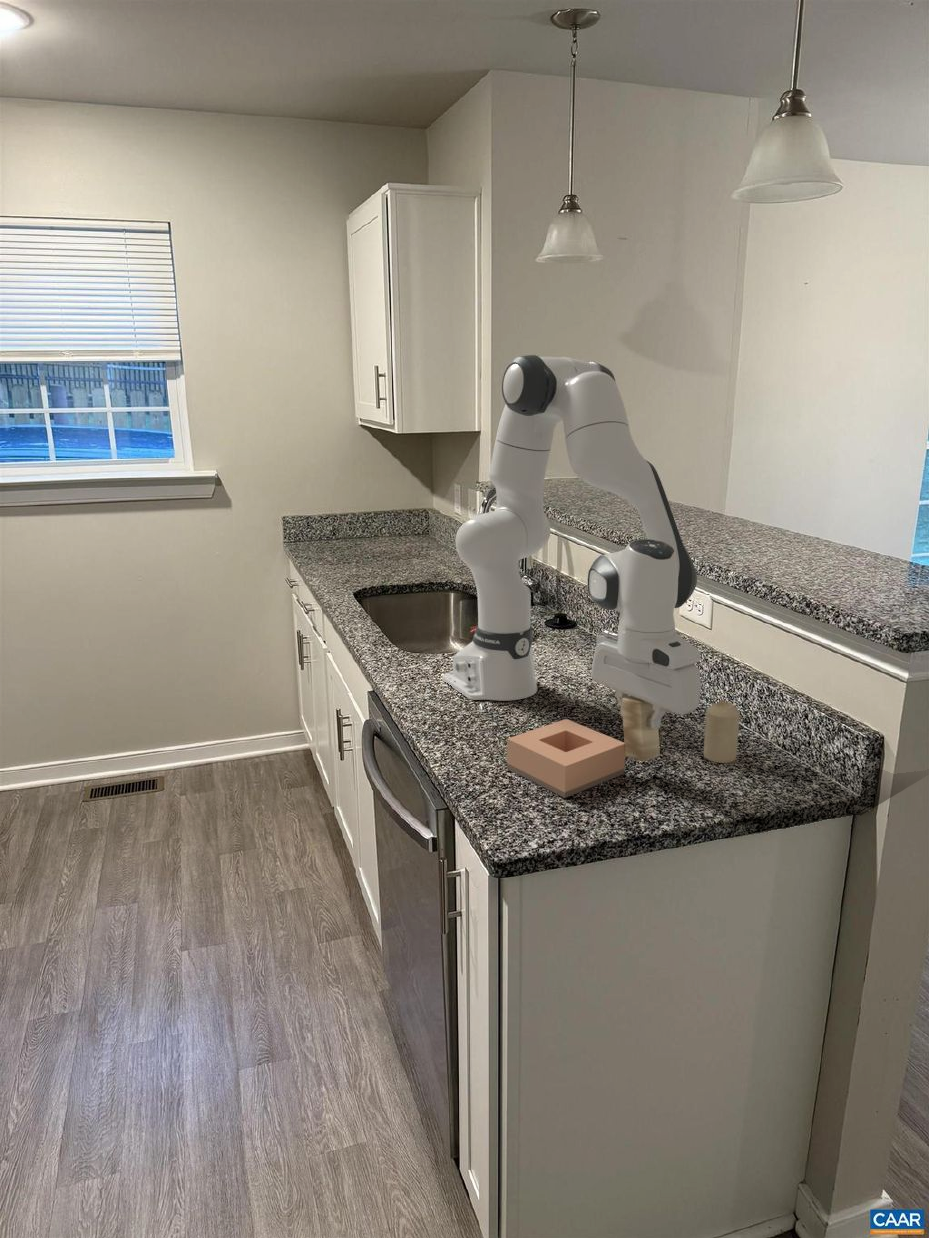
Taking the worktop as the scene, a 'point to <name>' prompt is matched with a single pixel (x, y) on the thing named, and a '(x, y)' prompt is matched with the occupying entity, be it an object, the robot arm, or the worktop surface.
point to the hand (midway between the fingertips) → (639, 722)
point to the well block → (566, 757)
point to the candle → (721, 732)
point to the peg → (639, 730)
